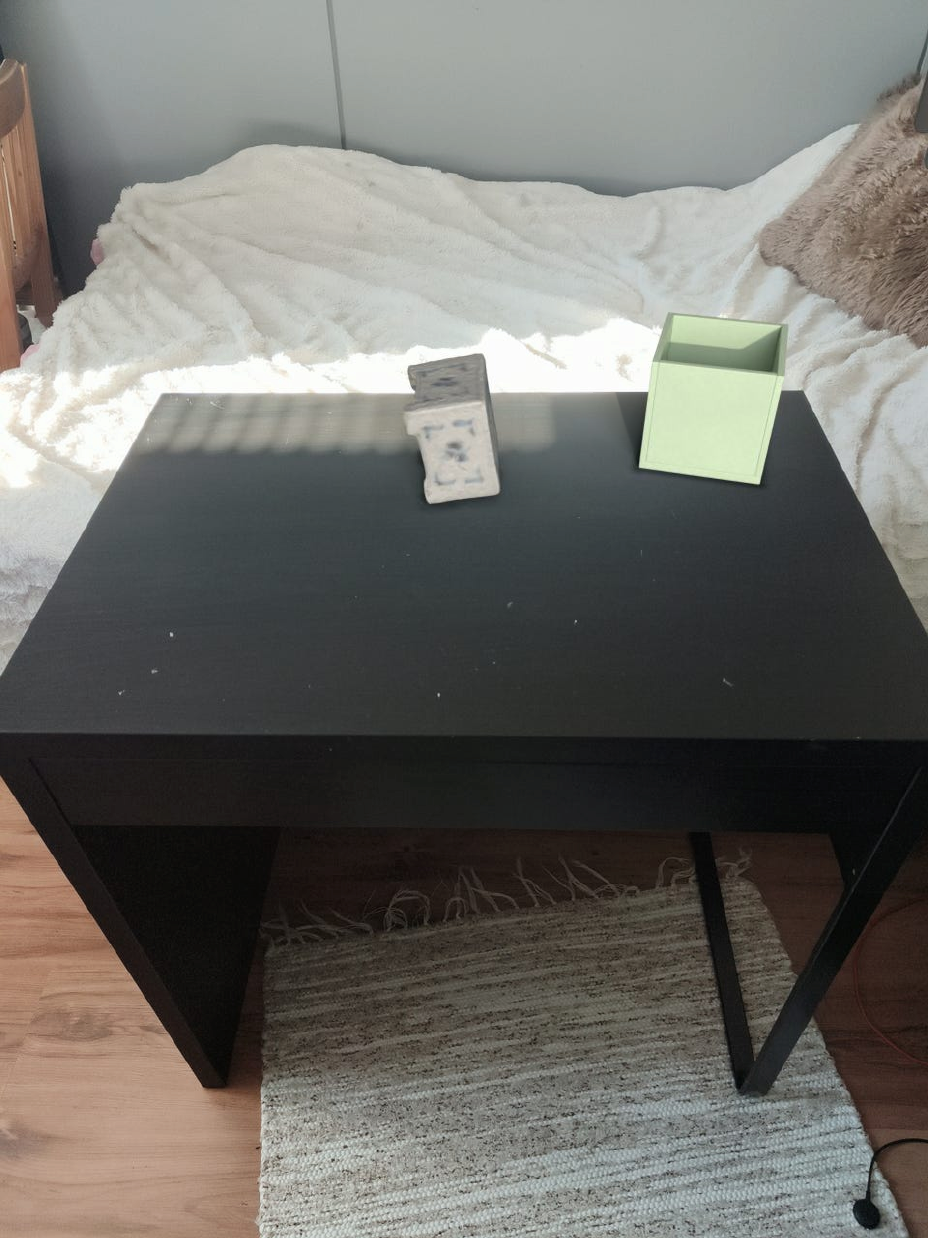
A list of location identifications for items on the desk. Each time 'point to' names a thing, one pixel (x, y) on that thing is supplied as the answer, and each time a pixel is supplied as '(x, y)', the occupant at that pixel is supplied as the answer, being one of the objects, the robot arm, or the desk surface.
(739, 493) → the desk surface
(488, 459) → the incense holder
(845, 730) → the desk surface
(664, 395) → the waste bin
